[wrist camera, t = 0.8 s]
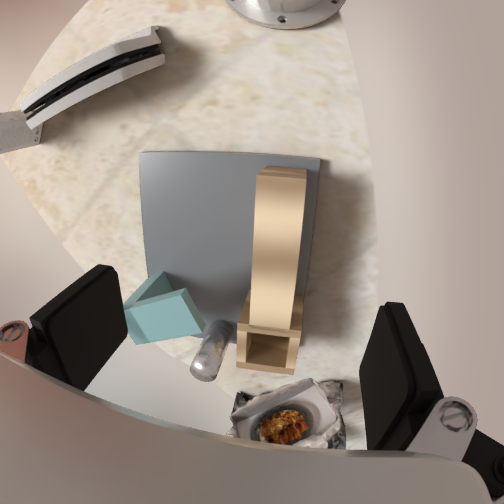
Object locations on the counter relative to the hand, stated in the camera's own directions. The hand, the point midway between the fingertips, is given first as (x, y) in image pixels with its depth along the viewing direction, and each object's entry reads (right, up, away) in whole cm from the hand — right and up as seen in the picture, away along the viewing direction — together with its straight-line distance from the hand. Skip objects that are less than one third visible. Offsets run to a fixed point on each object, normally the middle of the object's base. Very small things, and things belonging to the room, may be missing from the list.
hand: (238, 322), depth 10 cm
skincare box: (-30, +20, +20) cm, 42 cm away
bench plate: (-3, +2, +22) cm, 23 cm away
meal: (+6, -17, +29) cm, 35 cm away
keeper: (-7, -1, +23) cm, 24 cm away
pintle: (-3, -7, +25) cm, 26 cm away
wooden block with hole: (+3, +1, +20) cm, 21 cm away
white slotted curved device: (-16, +22, +17) cm, 32 cm away
